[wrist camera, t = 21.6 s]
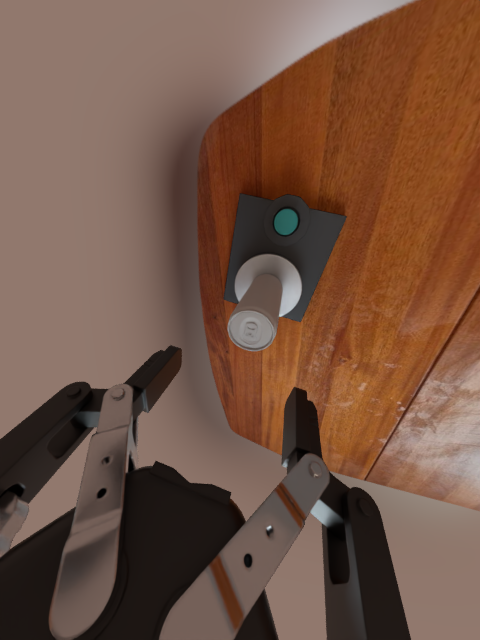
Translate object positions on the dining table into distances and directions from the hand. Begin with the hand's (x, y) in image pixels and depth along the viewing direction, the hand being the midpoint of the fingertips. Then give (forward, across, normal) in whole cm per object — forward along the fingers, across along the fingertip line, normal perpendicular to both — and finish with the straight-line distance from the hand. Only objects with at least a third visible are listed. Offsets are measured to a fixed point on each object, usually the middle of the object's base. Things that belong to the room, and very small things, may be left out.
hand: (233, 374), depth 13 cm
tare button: (+19, 0, -9) cm, 21 cm away
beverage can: (+18, 0, 0) cm, 18 cm away
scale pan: (+18, 0, 0) cm, 18 cm away
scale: (+21, 0, -3) cm, 22 cm away
